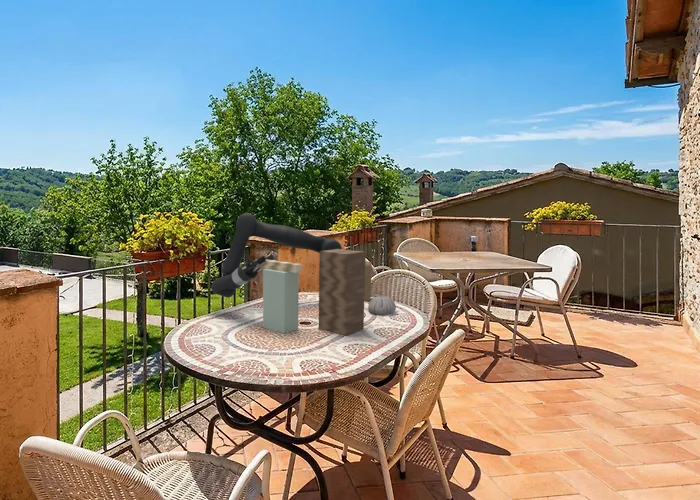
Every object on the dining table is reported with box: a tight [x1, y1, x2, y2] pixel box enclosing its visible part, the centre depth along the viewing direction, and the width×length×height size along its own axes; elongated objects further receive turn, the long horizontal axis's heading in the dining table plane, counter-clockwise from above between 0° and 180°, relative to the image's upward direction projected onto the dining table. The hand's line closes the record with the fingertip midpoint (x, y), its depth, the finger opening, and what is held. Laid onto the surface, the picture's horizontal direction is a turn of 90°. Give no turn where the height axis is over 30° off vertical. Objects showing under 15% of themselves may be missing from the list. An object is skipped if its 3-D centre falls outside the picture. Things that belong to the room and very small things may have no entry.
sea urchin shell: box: [367, 295, 397, 316], centre depth 209 cm, size 13×14×8 cm
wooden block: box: [364, 261, 373, 302], centre depth 235 cm, size 10×10×20 cm
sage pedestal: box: [262, 268, 300, 334], centre depth 179 cm, size 12×8×24 cm, turn 54°
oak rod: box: [258, 259, 303, 274], centre depth 178 cm, size 22×3×3 cm, turn 54°
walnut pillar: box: [317, 249, 367, 337], centre depth 179 cm, size 14×12×32 cm
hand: (268, 257), depth 181 cm, fingers open, 3 cm apart
